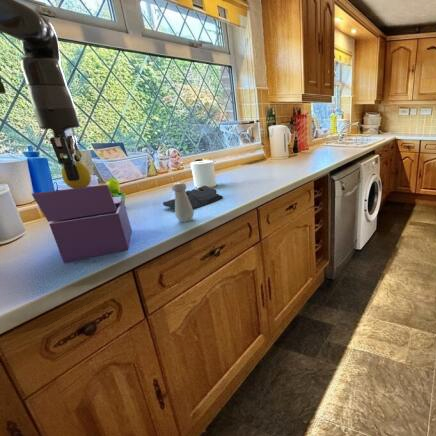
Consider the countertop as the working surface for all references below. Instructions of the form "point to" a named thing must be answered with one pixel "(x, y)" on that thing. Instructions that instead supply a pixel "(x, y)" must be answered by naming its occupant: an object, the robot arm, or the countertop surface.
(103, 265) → the countertop surface
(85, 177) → the lemon
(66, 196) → the flap
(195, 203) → the dark slate chunk
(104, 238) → the carton
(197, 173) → the toilet paper
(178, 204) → the salt shaker
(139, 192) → the countertop surface
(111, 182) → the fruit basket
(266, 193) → the countertop surface
